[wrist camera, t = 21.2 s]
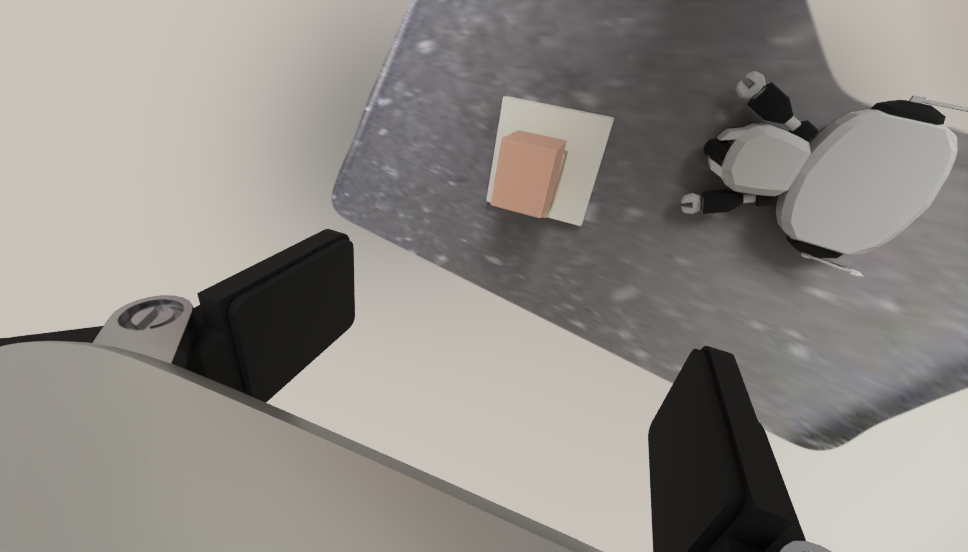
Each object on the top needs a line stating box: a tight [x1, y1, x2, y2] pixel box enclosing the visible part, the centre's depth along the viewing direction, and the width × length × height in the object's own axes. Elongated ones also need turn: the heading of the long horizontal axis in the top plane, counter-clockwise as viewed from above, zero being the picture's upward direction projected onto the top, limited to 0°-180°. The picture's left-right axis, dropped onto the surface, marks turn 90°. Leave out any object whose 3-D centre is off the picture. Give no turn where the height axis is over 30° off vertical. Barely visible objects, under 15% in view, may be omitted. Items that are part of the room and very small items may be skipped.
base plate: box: [486, 96, 615, 226], centre depth 37 cm, size 10×10×2 cm
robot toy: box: [681, 71, 968, 276], centre depth 30 cm, size 12×4×15 cm
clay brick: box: [491, 130, 567, 218], centre depth 30 cm, size 5×4×5 cm
